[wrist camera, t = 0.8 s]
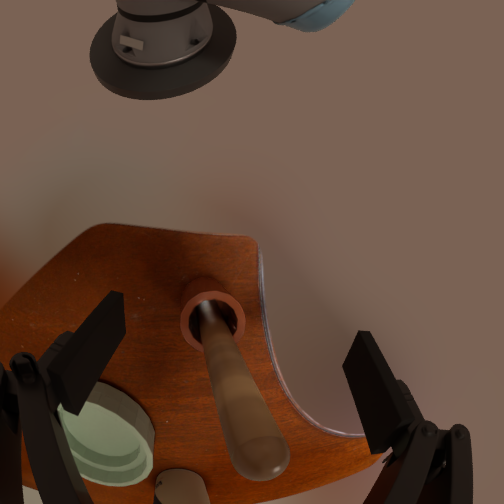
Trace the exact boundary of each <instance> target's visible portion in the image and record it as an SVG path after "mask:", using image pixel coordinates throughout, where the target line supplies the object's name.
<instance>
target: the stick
mask: <svg viewBox="0 0 504 504" xmlns="http://www.w3.org/2000/svg"><path fill="white" fill-rule="evenodd" d="M195 308H196V314H197V319H198V324H199V330H200V335H201V340H202V345H203V350H204V354H205V359H206V364H207V368H208V373H209V377H210V382H211V386H212V390H213V394H214V399H215V403H216V407H217V411H218V415H219V419H220V422H221V426H222V430H223V434H224V437H225V441H226V444H227V448H228V452H229V455H230V458H231V462H232V464H233V466H234V468H235V469H236V471H237V472H238V473H239V474H241V475H242V476H244V477H245V478H248V479H251V480H255V481H266V480H270V479H273V478H275V477H277V476H278V475H280V474H281V473H282V472H283V471H284V470H285V469H286V467H287V465H288V463H289V460H290V449H289V446H288V444H287V442H286V440H285V438H284V437H283V435H282V433H281V431H280V429H279V427H278V426H277V424H276V422H275V420H274V418H273V416H272V414H271V413H270V411H269V409H268V407H267V405H266V403H265V401H264V399H263V397H262V395H261V393H260V391H259V389H258V387H257V386H256V384H255V382H254V380H253V378H252V376H251V374H250V372H249V370H248V368H247V366H246V363H245V361H244V359H243V357H242V355H241V353H240V351H239V349H238V347H237V345H236V343H235V341H234V339H233V336H232V334H231V332H230V330H229V328H228V326H227V324H226V321H225V319H224V317H223V315H222V313H221V310H220V308H219V306H218V304H217V302H216V300H215V299H213V300H207V301H203V302H202V303H200V304H199V305H197V306H196V307H195Z"/></svg>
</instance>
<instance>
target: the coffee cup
mask: <svg viewBox="0 0 504 504" xmlns="http://www.w3.org/2000/svg"><path fill="white" fill-rule="evenodd" d="M153 504H210V501H209V497H208V494H207V491H206V487H205V484H204V481H203V479H202V478H201V477H200V476H199V475H198V474H197V473H195V472H192V471H189V470H185V469H170V470H166V471H163V472H162V473H160V474H159V475H158V477H157V480H156V486H155V494H154V502H153Z"/></svg>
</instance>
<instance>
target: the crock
mask: <svg viewBox="0 0 504 504" xmlns="http://www.w3.org/2000/svg"><path fill="white" fill-rule="evenodd" d="M213 299H215V300H216V302H217V304H218V306H219V308H220V310H221V313H222V315H223V317H224V319H225V321H226V324H227V326H228V328H229V330H230V332H231V334H232V336H233V339H234V341H235V343H236V344H238V342H239V340H240V339H241V337H242V335H243V334H244V331H245V323H246V317H245V314H244V311H243V309H242V306H241V305H240V303H239V302H238V301H237V300H236V299H235V298H234V297H233V296H232V295H231V294H230V293H229V292H228V291H227V290H226V289H225V288H224V287H223V286H222V285H221V284H220V283H219V282H218V281H216V280H214V279H212V278H208V277H201V278H197V279H194V280H193V281H191V282H190V283H189V284H188V285H187V286H186V287H185V289H184V290H183V293H182V297H181V317H180V330H181V332H182V334H183V336H184V338H185V341H186V342H187V343H188V344H190V345H191V346H192V347H193V348H195V349H196V350H197V351H200V352H204V350H203V345H202V340H201V335H200V330H199V324H198V319H197V314H196V308H195V307H196V306H197V305H199V304H200V303H202V302H203V301H207V300H213Z"/></svg>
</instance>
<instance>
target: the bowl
mask: <svg viewBox="0 0 504 504" xmlns="http://www.w3.org/2000/svg"><path fill="white" fill-rule="evenodd" d="M57 409H58V411H59V414H60V418H61V421H62V425H63V428H64V431H65V435H66V438H67V441H68V444H69V447H70V449H71V452H72V455H73V458H74V460H75V463H76V465H77V468H78V470H79V473H80V475H81V477H83V478H85V479H88V480H90V481H92V482H95V483H99V484H103V485H107V486H128V485H132V484H137V483H139V482H140V481H142V480H143V479H145V478H146V477H148V475H149V473H150V471H151V470H152V468H153V457H154V442H155V431H154V429H153V426H152V424H151V421H150V419H149V417H148V416H147V415H146V413H145V412H144V411H143V409H142V408H141V407H140V405H139V404H137V403H136V402H135V401H134V400H132V399H131V398H130V397H129V396H127V395H126V394H125V393H123V392H121V391H119V390H117V389H115V388H113V387H112V386H110V385H108V384H105V383H101V382H97V383H96V384H95V386H94V388H93V390H92V391H91V393H90V395H89V397H88V399H87V401H86V402H85V404H84V406H83V408H82V410H81V412H80V414H79V415H78V416H76V415H74V414H71V413H69V412H67V411H65V410H64V409H63V407H62V405H61V403H60V405H59V406H58V408H57Z"/></svg>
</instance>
